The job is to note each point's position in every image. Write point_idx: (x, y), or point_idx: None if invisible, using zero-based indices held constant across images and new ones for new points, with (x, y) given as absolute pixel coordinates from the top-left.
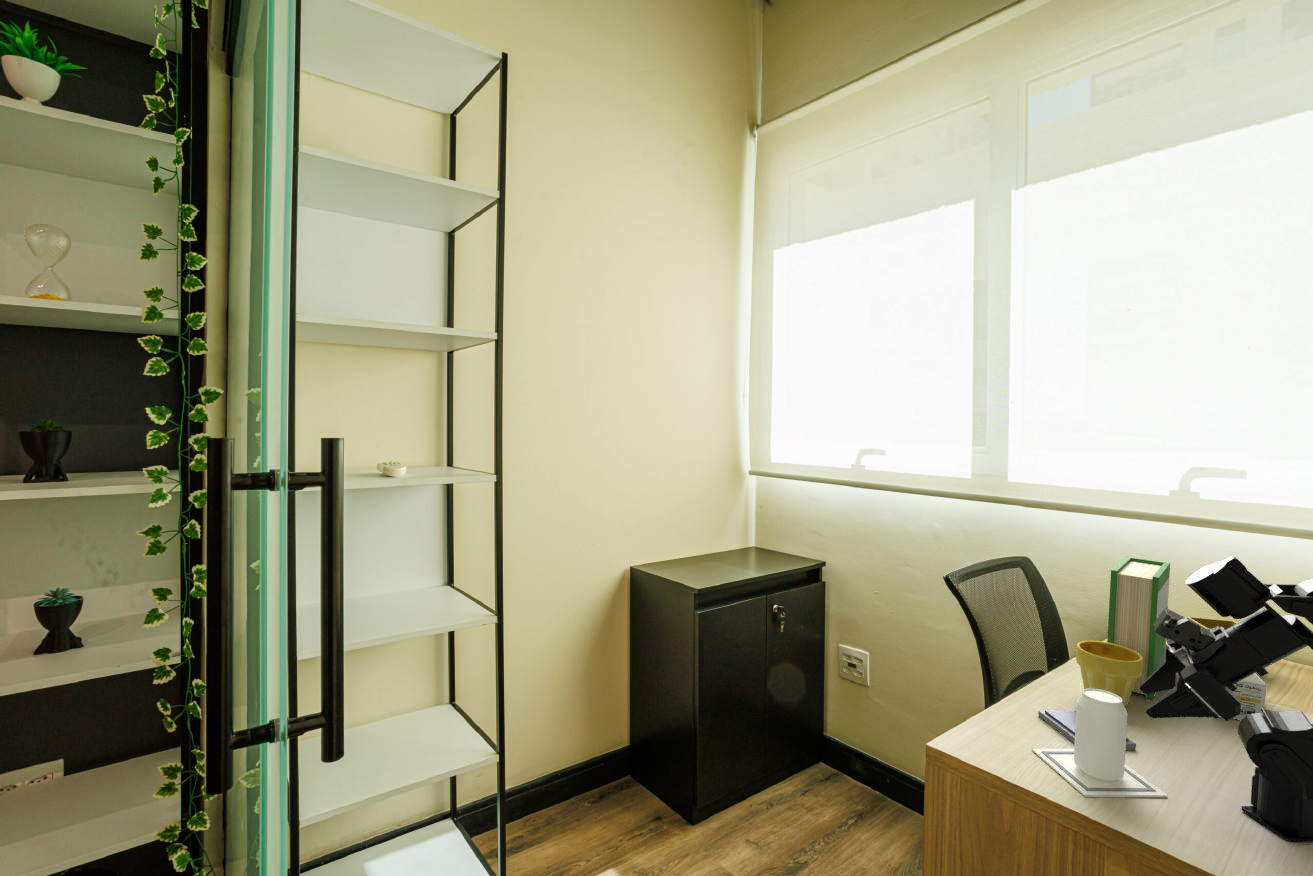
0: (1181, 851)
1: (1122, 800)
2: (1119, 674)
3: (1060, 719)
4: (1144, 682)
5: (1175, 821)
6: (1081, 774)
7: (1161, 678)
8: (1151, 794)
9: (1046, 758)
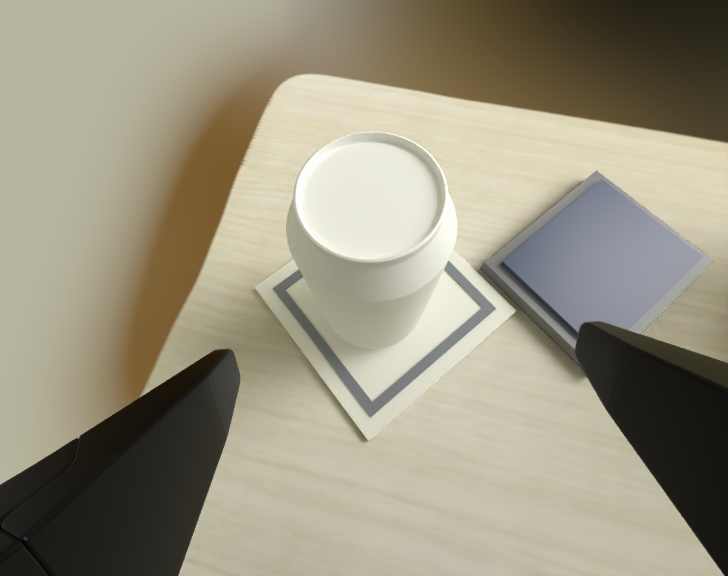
0: None
1: (289, 352)
2: None
3: (577, 211)
4: (622, 336)
5: (263, 452)
6: None
7: (709, 439)
8: (347, 407)
9: None
